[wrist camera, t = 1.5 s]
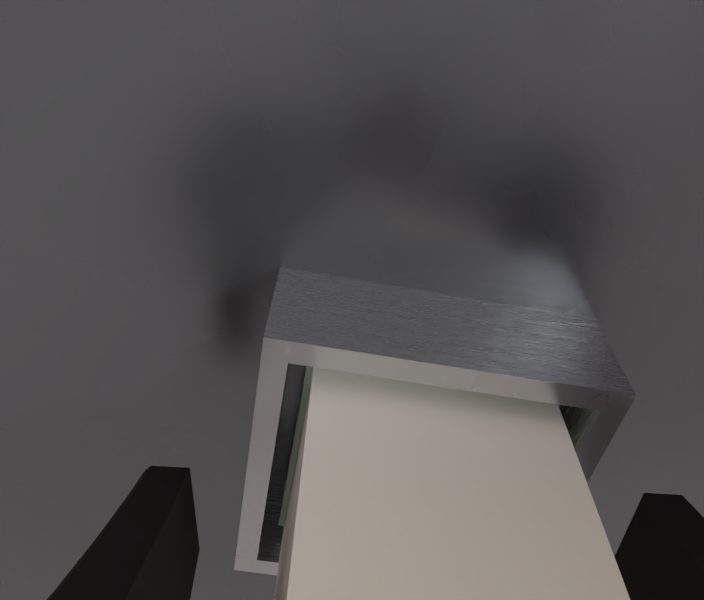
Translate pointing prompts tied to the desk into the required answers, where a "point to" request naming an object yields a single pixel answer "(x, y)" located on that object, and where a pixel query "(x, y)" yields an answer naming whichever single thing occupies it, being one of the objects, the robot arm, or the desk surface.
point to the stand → (336, 246)
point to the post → (436, 498)
